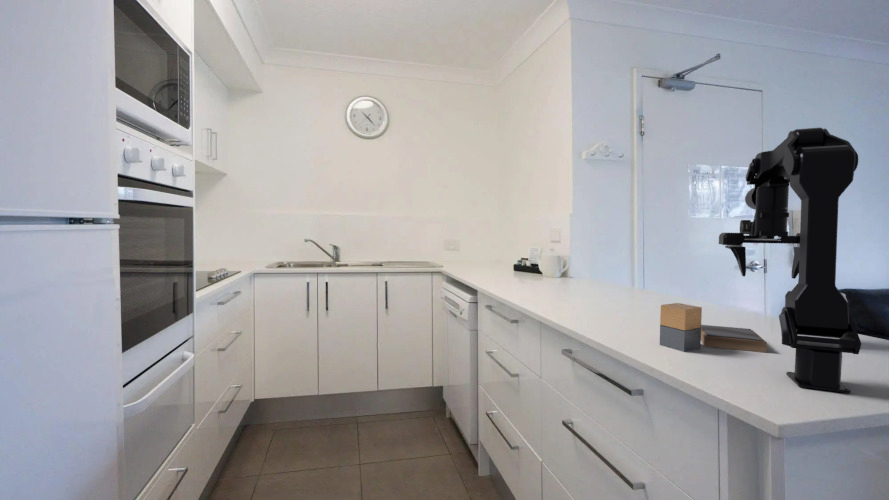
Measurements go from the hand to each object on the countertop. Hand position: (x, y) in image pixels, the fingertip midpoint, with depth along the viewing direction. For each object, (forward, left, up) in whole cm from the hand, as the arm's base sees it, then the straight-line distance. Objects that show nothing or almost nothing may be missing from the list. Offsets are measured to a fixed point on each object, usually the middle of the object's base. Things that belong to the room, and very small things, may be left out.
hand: (768, 277), depth 93 cm
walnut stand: (-5, +8, -15) cm, 18 cm away
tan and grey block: (-13, +18, -15) cm, 27 cm away
